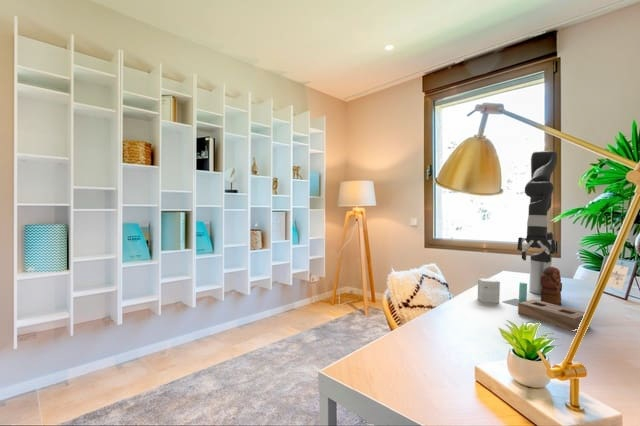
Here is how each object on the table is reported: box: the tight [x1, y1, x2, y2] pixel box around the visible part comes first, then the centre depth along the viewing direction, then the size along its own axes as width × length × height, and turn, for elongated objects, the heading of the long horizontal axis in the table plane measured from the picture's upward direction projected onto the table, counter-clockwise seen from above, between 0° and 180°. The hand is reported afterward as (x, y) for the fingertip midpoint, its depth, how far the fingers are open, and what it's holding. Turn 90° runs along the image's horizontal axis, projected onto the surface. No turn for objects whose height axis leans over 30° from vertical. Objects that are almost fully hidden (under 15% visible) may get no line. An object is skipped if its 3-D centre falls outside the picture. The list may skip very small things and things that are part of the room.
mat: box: [502, 298, 519, 308], centre depth 147 cm, size 12×12×1 cm
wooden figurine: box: [540, 266, 563, 306], centre depth 146 cm, size 12×6×18 cm, turn 125°
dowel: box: [518, 281, 528, 303], centre depth 145 cm, size 3×3×10 cm
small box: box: [477, 278, 501, 304], centre depth 150 cm, size 8×6×10 cm
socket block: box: [517, 298, 585, 332], centre depth 127 cm, size 12×20×5 cm, turn 30°
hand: (535, 261), depth 141 cm, fingers open, 8 cm apart
